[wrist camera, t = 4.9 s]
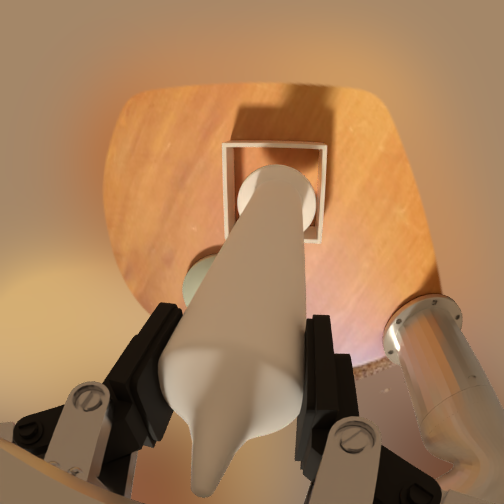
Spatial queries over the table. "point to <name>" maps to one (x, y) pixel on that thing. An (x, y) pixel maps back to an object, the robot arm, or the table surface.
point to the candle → (244, 328)
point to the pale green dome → (196, 277)
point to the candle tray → (312, 232)
